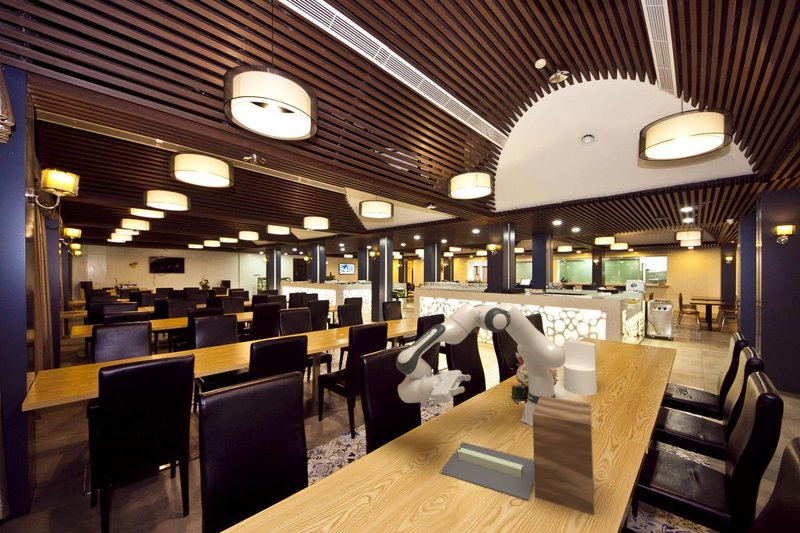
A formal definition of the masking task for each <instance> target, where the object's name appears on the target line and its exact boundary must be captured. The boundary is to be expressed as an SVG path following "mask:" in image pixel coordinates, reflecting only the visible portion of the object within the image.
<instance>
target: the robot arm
mask: <svg viewBox="0 0 800 533" xmlns="http://www.w3.org/2000/svg"><path fill="white" fill-rule="evenodd" d="M476 327H479V328H481V329H482V330H485V331H489V332H493V333H500V332H503V331H506V332H507V334H509V336H510V337H511V338H512V339H513V340H514V341H515V343H516V344H517V346H516V347H517V348H516V349H517V353H519V354H520V355H521V357H522V359H523V361H524V363H525V366H526V369H527V373H528V382H529V391H528V401H526V402H527V403H526V404H525V403H524V404H522V405H523V407H522V408H523V411H522V414H521V418H520V422H521V423H525V424H527V425H529V426H530V427H531V428H533V412H534V409H535V407H536V405H537V402H538V400H539V397H540V396H545V397H552V398H557V397H556V394H555V385H554V379H553V376H552V374H551V373H550V372H549V370H548V368H547V367H553V368H555V369H557V368H561V367H563V366H564V364H565V349H563V348H562V346H559V345H557V344H556V343H554V342H553V341H552V340H551V339H549V338H548V337H547V336H545V334H543V333H542V332H541V331H540V330H538V329H537V327H535V326H534V324H532V322H531V320H529V319H528V317H527V316H526V315H525V314H524V313H523V312H522V311H521V310H520V309H519V308H518V307H516V306H515V305H514V304H513V303H510V302H505V303H502V304H501V305H499V306H498V307H496V306H493V305H488V304H482V303H481V304H476V305H472V304H469V303H465V304H463V305H461V306H459V307H458V308H457V309H456V310H455V311H454V312H453V313H451V315H449V317H447V319H446V320H445V321H443V322H442V323H438V324H435V325H433V326H432V327H431V328H429V329H428V330H427V331H426V332H424V333H423V334H422V335H421V336H420V337H419V338H418V339H417V340H415V341H414V342H413V343H411V344H410V345H409V346H407V347H406V348H404V349H402V350H401V351H400V352H399V353H398V355H397V357H396V360H395V361H396V362H395V363H396V364H395V365H396V368H397V370H398V371H399V372H401V373H402V374H404V375H405V378H404V379H403V381H402V382H401V383H400V384H398V386H397V393H398V396H399V398H400V399H401V400H402V401H403V402H404V403H408V404H412V403H413V404H414V403H415V404H417V403H422V402H424V401H427V402H433V403H435V404H444V403H445V404H446V403H447V404H448V403H449V402H451V400H452V398H453V397H454V396H457V395H459V394H461V393H464V392H465V390H466V389H465V386H464V385H462V386H460V384H461V382H463V381H465V382H470V381H471V375H470V374H463V373H462V371H461V370H458V369H454V370H447V371H438V372H436V373H434V374H433V371H432V367H431V366H430V364H428V363H427V361H426V360H424V359H423V358H422V355H424V354H425V353H426V352H427V351H428V350H429V349H430V348H431V347H433V345H435V344H436V343H441V342H442V343H446V344H449V345H457V344H460V343H461V342H462V341H464V340H465V339H466V338H467V336H468V335H469V334H470V333H471V332H472V330H473V329H475V328H476Z"/></svg>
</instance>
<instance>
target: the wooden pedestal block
mask: <svg viewBox="0 0 800 533" xmlns="http://www.w3.org/2000/svg"><path fill="white" fill-rule="evenodd" d="M591 406H592V405H591V403H589V402H582V401H577V400H569V399H563V398H559V397H558V398H557V397H556V398H552V397H545V396H540V397H539V400H538V402H537V405H536V407H535V409H534V412H533V427H532V438H533V460H534V477H535V479H534V498H537V499H540V500H544V501H547V502H550V503H554V504H556V505H559V506H563V507H566V508H570V509H572V510H576V511H579V512H582V513H586V514H589V515H593V516H594V515H595V503H594V502H595V500H594V496H595V495H594V492H595V491H594V488H595V487H594V486H595V485H594V457H593V456H594V454H593V433H592V432H593V431H592V407H591Z"/></svg>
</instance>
